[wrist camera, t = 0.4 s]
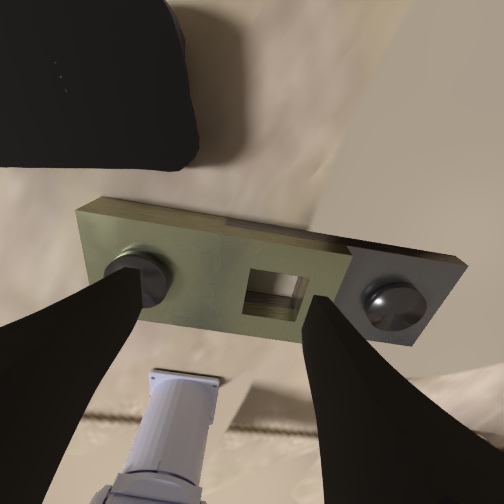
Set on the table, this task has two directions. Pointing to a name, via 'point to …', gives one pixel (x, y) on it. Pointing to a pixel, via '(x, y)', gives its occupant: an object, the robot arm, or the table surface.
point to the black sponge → (94, 86)
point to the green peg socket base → (267, 259)
